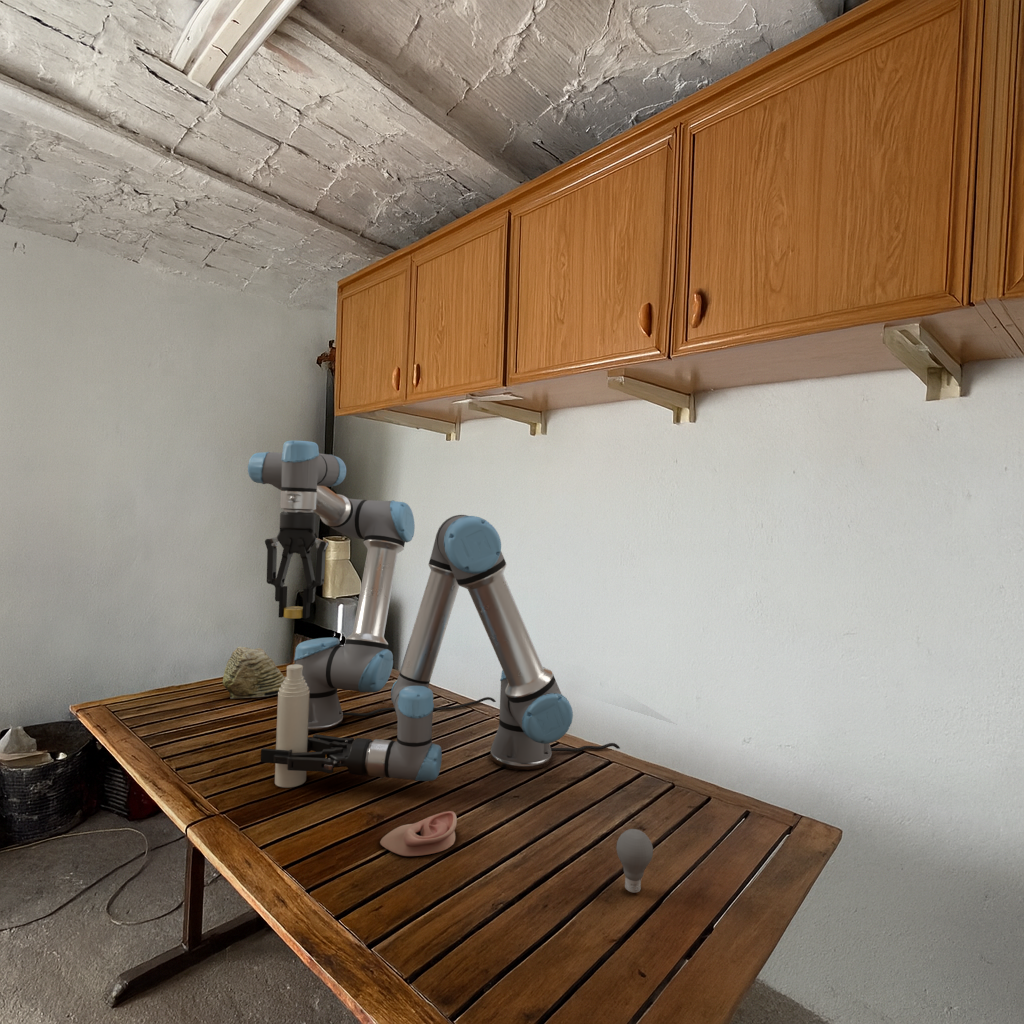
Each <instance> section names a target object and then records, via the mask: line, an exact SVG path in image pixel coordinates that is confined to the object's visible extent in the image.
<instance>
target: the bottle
mask: <svg viewBox="0 0 1024 1024" xmlns="http://www.w3.org/2000/svg"><path fill="white" fill-rule="evenodd" d="M302 672H303V666H302V665H299V664H295V663H293V664H289V665H286V676H284V677H285V680H284V681H283V684H281V687H280V688H279V692H278V694H277V705H276V707H277V708H276V732H275V749H276V750H288V751H289V750H292V753H303V752H307V747H308V737H309V732H308V721H309V694H310V691H309V687H308V686H307V683H306V681H305V680H304V677H303V676H302ZM287 767H288V764H277V763H274V784H275V786H276V787H279V788H285V789H287V788H295V787H299V786H302V785H303V784H304V783H306V781H307V772H308V771H293V770H287Z"/></svg>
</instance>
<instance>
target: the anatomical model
mask: <svg viewBox="0 0 1024 1024" xmlns="http://www.w3.org/2000/svg"><path fill="white" fill-rule="evenodd" d="M457 824H458V818H457V814H456V813H455V812H454V811H453V810H447V811H442V812H440V813H436V814H433V815H431V816H428V817H426V818H424V819H422V820H419V821H417V822H414V823H407V824H402V825H400V826H398V827H395V828H394V829H392V830H391V831H388V833H387V834H385V835H384V836H383V837H382V838H381V839H380V841H379V844H380V846H382V848H384V849H386V850H388V851H389V852H391V853H394V854H396V855H398V856H401V857H418V856H426V855H431V854H432V855H433V854H436V853H440V852H443V851H445V850H447V849H450V847H452V846H453V845H454V844H455V842H456V832H455V830H456V828H457Z"/></svg>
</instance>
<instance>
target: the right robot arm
mask: <svg viewBox="0 0 1024 1024" xmlns="http://www.w3.org/2000/svg"><path fill="white" fill-rule="evenodd" d="M428 567H429V569H430V573H429V576H428V579H427V582H426V585H425V589H424V592H423V594H422V595H423V596H422V598H421V601H420V604H419V608H418V612H417V614H416V617H415V621H414V624H413V628H412V631H411V634H410V638H409V641H408V644H407V647H406V650H405V653H404V657H403V661H402V664H401V667H400V670H399V674H398V676H397V679H396V680H395V681H394V683H393V684H392V687H391V691H390V699H391V700H390V701H391V702H392V704H393V707H395V710H394V711H395V714H396V717H397V726H396V727H397V730H396V731H397V734H396V740H391V739H378V738H374V739H371V738H364V737H357V738H354V737H339V736H333V735H332V736H331V735H324V734H313V735H312V736H308V747H307V752H303V753H292V750H289V751H288V750H276V748H264V747H263V748H261V749H260V763H266V764H275V763H277V764H288V767H287V770H293V771H307V772H316V773H317V772H318V773H319V772H320V773H326V774H333V773H334V769H335V768H345V767H346V769H347V770H348V773H349V774H350V775H352V776H353V775H354V776H365V777H366V776H367V775H368V776H369V777H378V778H380V779H384V778H390V779H399V780H400V779H402V780H408V781H409V780H410V781H415V782H432V781H436V779H438V777H439V775H440V771H441V767H442V761H443V753H442V751H443V750H442V747H441V746H440V745H439V744H436V743H434V742H433V736H432V735H433V719H434V718H433V717H434V716H433V715H434V710H433V708H435V703H434V692H433V690H432V689H431V688H430V687H429V685H430V683H431V679H432V676H433V672H434V669H435V666H436V663H437V659H438V656H439V653H440V650H441V647H442V643H443V640H444V637H445V634H446V630H447V628H448V625H449V621H450V618H451V614H452V611H453V607H454V606H455V605H454V604H455V601H456V598H457V596H458V595H457V594H458V592H459V589H460V587H461V588H464V589H466V590H467V591H468V593H469V595H470V598H471V600H472V602H473V604H474V607H475V609H476V612H477V614H478V616H479V618H480V621H481V623H482V625H483V628H484V630H485V632H486V635H487V637H488V639H489V641H490V644H491V646H492V649H493V651H494V652H495V656H496V658H497V660H498V662H499V665H500V667H501V669H502V670H501V673H500V674H501V675H500V680H499V681H500V689H499V690H500V693H499V717H498V718H499V719H498V727H497V730H496V733H495V736H494V739H493V741H492V744H491V746H490V756H489V757H490V760H491V762H493V763H494V764H495V765H497V766H500V767H502V768H504V769H508V770H514V771H534V770H539V769H542V768H545V767H547V766H549V765H550V763H551V762H552V753H553V752H569V753H576V752H581V751H584V750H596V751H597V750H599V751H600V750H605V749H608V748H610V747H614V748H615V749H618V750H619V749H621V747H620V746H619V744H617V743H615V742H609V743H607V744H603V745H599V746H598V745H583V746H580V747H576V748H575V747H574V748H573V747H572V748H571V747H551V745H550V744H552V743H555V742H557V741H558V740H560V739H561V738H563V737H564V736H565V735H566V734H567V732H568V731H569V729H570V727H571V725H572V723H573V718H574V714H573V713H574V711H573V708H572V705H571V703H570V701H569V699H567V697H566V696H565V695H563V694H562V692H561V689H560V687H559V685H558V682H557V679H556V677H555V676H554V672H553V671H552V670H551V669H550V668H547V667H545V666H543V664H542V662H541V659H540V657H539V655H538V652H537V649H536V648H535V645H534V643H533V641H532V638H531V636H530V634H529V632H528V631H529V630H528V629H527V626H526V624H525V622H524V620H523V617H522V615H521V613H520V610H519V608H518V604H517V603H516V601H515V600H516V599H515V598H514V595H513V593H512V591H511V589H510V586H509V585H508V582H507V580H506V577H505V575H504V573H505V570H506V567H507V562H506V559H505V557H504V554H503V552H502V541H501V536H500V534H499V532H498V530H497V528H495V526H493V524H491V523H490V522H489V521H488V520H486V519H484V518H482V517H479V516H475V515H467V514H456V515H453V516H450V517H448V518H446V519H445V520H444V521H443V522H442V523H441V525H440V526H439V527H438V530H437V532H436V534H435V539H434V543H433V545H432V549H431V555H430V558H429V561H428Z"/></svg>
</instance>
